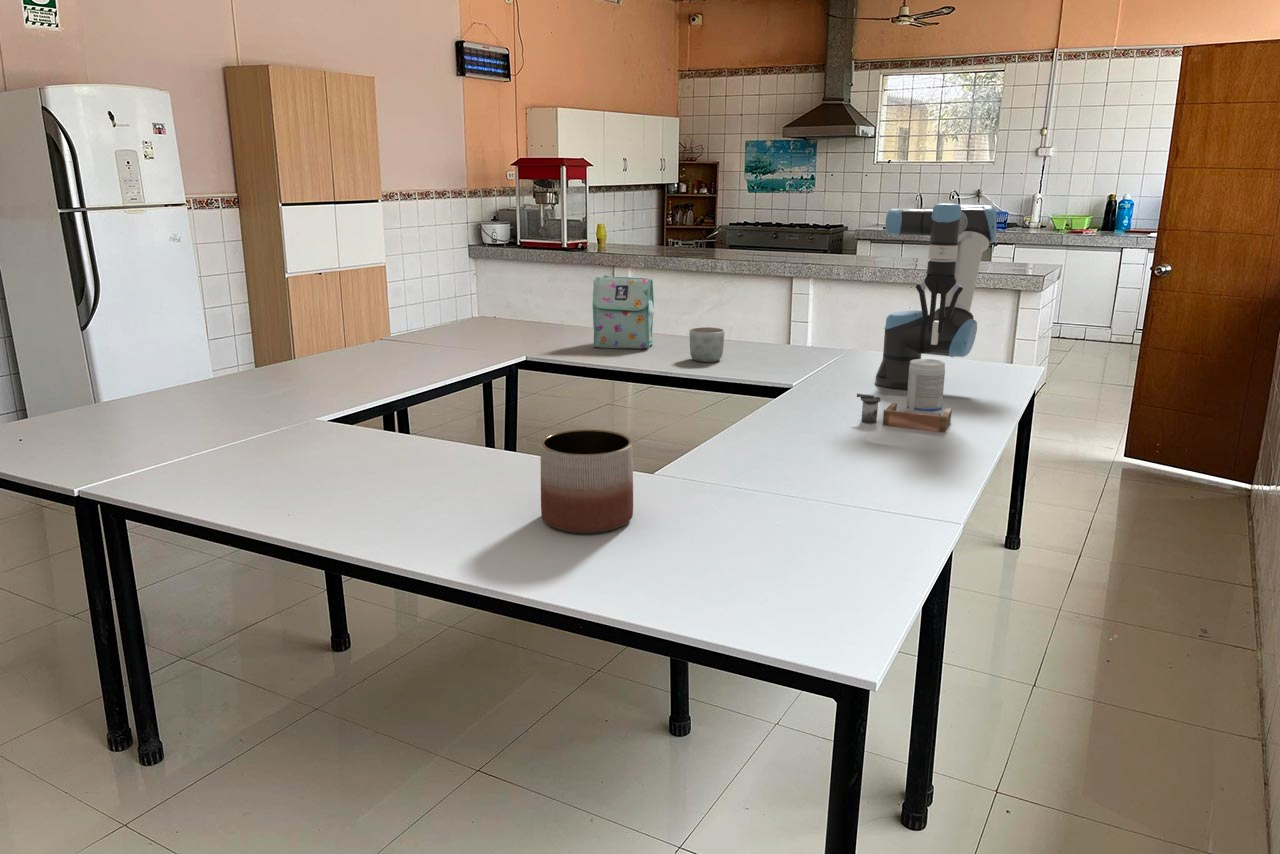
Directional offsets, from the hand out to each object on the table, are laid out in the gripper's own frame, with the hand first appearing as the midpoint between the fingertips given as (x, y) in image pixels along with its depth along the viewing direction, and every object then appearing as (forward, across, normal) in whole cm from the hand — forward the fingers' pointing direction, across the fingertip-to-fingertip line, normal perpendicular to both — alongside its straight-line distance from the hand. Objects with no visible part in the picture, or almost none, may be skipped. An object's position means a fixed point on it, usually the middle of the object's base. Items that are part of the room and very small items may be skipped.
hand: (934, 343), depth 262 cm
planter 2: (+18, -81, +32) cm, 89 cm away
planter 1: (+19, -47, -123) cm, 133 cm away
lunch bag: (+18, -119, +43) cm, 128 cm away
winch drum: (+18, -12, -27) cm, 34 cm away
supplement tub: (+18, 0, -11) cm, 21 cm away
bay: (+18, 0, -23) cm, 29 cm away
